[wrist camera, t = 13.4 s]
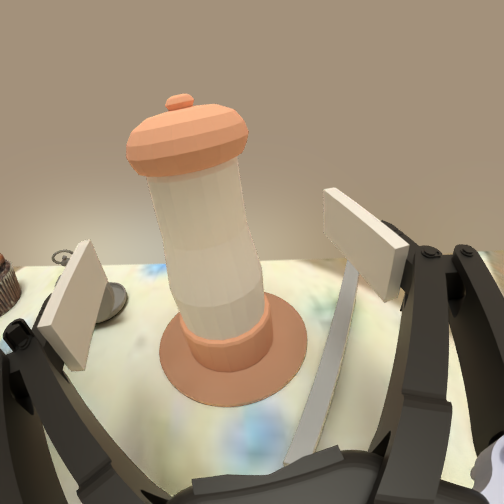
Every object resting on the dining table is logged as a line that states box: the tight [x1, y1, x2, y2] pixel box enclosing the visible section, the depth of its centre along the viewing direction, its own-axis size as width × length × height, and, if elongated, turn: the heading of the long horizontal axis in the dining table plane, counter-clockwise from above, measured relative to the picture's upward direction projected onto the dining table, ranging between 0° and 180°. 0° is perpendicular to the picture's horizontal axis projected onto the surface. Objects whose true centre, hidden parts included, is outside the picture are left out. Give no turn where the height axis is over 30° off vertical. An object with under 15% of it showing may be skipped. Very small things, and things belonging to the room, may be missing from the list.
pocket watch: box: [52, 250, 127, 323], centre depth 26 cm, size 8×8×10 cm
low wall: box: [283, 259, 359, 467], centre depth 19 cm, size 1×18×5 cm, turn 157°
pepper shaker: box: [126, 94, 273, 372], centre depth 19 cm, size 7×7×19 cm
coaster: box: [159, 292, 307, 407], centre depth 24 cm, size 13×13×1 cm
